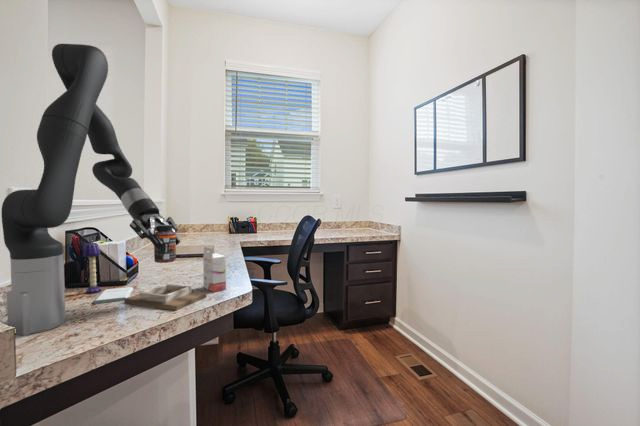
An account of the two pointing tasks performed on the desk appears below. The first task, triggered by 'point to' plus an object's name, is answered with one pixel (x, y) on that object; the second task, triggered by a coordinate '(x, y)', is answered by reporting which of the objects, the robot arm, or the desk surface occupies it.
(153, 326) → the desk surface
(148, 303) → the rail board
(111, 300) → the external hard drive
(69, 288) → the desk surface
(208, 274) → the ink cartridge box
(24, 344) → the desk surface
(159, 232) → the supplement bottle
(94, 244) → the toy lamp
